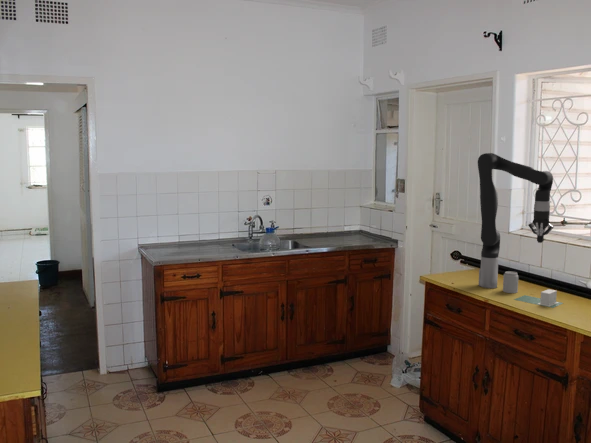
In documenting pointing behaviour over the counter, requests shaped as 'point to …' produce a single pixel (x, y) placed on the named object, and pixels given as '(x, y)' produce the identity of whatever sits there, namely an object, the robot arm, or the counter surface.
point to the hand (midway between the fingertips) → (540, 242)
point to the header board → (535, 301)
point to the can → (510, 282)
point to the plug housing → (548, 297)
